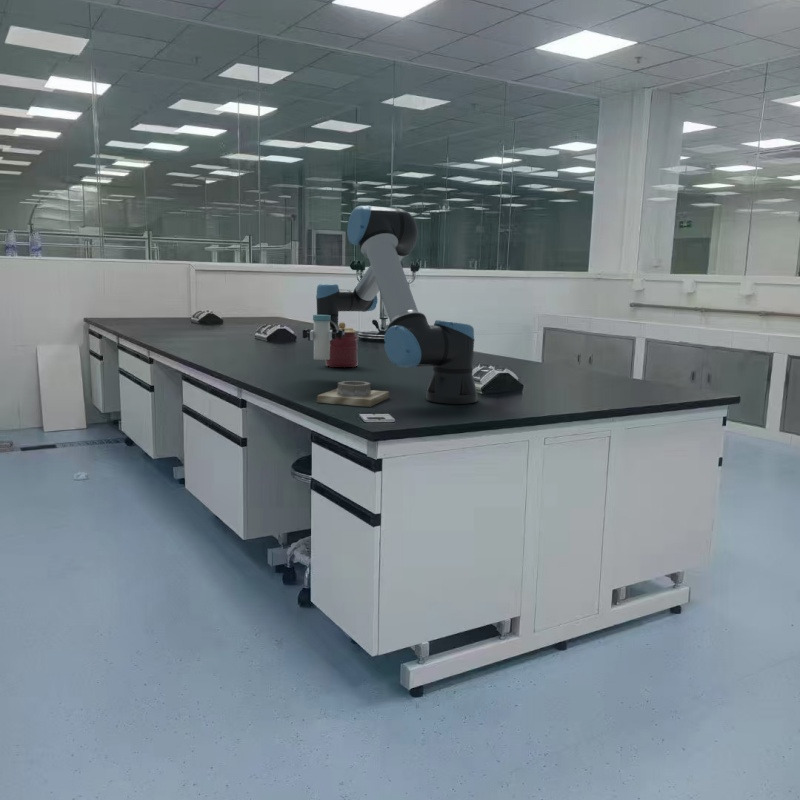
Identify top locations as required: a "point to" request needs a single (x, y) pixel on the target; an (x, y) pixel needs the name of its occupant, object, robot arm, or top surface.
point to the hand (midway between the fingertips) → (320, 336)
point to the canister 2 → (344, 349)
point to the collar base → (353, 394)
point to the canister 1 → (321, 337)
